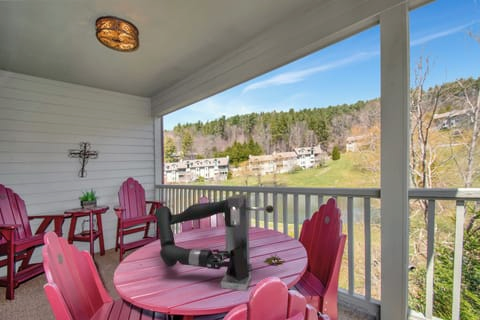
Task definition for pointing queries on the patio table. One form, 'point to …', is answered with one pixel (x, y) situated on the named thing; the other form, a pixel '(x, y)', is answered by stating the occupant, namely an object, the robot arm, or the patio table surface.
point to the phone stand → (237, 264)
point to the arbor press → (241, 237)
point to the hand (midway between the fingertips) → (234, 260)
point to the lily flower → (274, 260)
